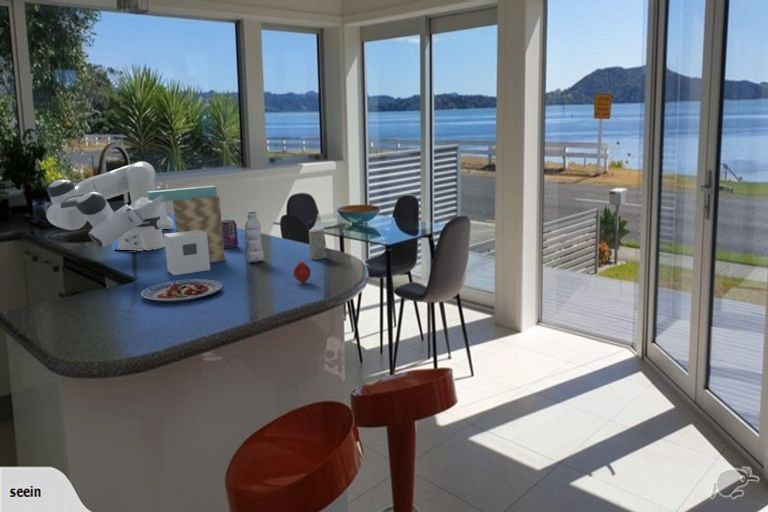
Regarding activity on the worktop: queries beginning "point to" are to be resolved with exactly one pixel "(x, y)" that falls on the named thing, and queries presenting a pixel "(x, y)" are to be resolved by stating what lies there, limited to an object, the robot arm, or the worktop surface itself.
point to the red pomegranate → (302, 272)
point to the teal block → (184, 193)
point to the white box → (187, 252)
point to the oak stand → (202, 222)
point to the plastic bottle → (253, 238)
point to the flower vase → (164, 218)
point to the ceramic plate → (181, 290)
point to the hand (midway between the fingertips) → (160, 195)
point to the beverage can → (229, 233)
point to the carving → (317, 244)
